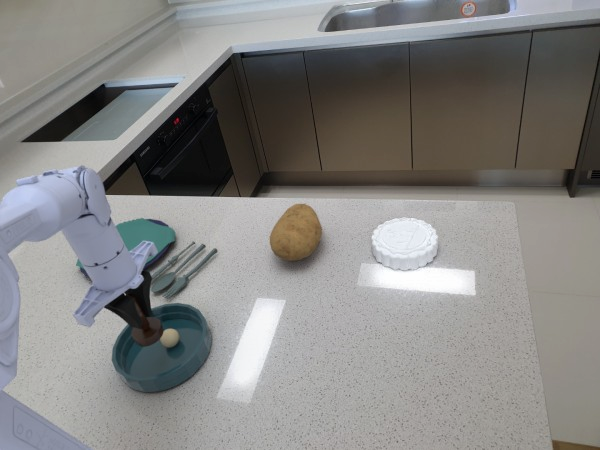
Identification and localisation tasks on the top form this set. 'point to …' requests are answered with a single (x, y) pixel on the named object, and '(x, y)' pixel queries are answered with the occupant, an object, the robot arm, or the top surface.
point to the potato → (296, 233)
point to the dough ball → (169, 338)
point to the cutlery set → (162, 238)
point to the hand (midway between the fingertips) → (141, 320)
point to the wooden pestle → (146, 328)
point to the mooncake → (404, 243)
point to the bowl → (164, 350)
